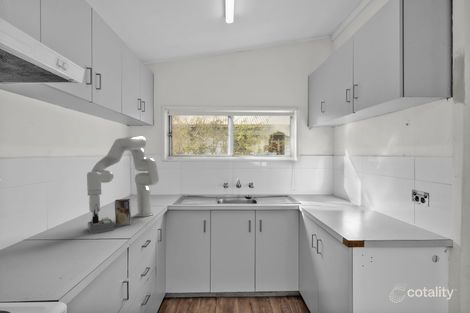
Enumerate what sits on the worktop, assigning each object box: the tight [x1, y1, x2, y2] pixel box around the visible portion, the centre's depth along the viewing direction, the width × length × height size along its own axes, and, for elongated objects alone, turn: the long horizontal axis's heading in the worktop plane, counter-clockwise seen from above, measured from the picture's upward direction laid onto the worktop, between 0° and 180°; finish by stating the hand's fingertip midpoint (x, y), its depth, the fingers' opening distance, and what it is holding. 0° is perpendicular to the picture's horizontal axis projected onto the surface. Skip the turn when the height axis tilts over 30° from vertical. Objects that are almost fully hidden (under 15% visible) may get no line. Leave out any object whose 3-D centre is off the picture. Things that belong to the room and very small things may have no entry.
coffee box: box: [114, 198, 132, 227], centre depth 203 cm, size 9×6×16 cm
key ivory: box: [101, 216, 110, 222], centre depth 194 cm, size 4×4×4 cm
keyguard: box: [87, 218, 115, 234], centre depth 190 cm, size 13×13×4 cm
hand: (95, 222), depth 186 cm, fingers closed
